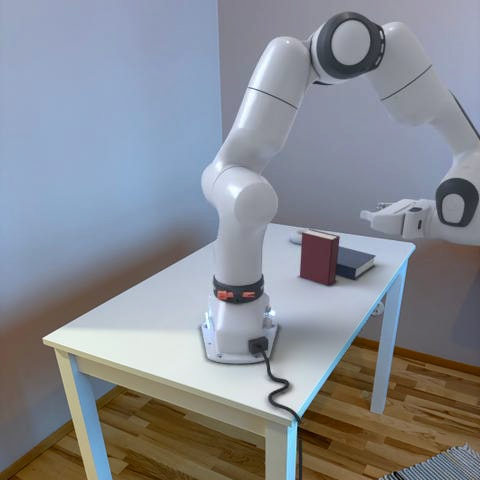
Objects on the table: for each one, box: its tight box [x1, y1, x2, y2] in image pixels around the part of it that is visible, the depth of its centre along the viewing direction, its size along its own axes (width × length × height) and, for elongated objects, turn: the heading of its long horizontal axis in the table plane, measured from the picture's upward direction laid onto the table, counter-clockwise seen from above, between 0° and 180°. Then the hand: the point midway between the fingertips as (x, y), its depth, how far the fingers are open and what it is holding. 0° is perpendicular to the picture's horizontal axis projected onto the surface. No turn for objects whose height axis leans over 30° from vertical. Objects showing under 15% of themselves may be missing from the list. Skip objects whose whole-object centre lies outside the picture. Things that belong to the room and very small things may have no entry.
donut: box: [289, 228, 310, 245], centre depth 166 cm, size 10×4×10 cm
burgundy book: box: [299, 228, 341, 287], centre depth 135 cm, size 4×10×14 cm, turn 50°
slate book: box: [336, 245, 377, 280], centre depth 147 cm, size 13×18×4 cm
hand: (369, 210), depth 119 cm, fingers open, 8 cm apart
